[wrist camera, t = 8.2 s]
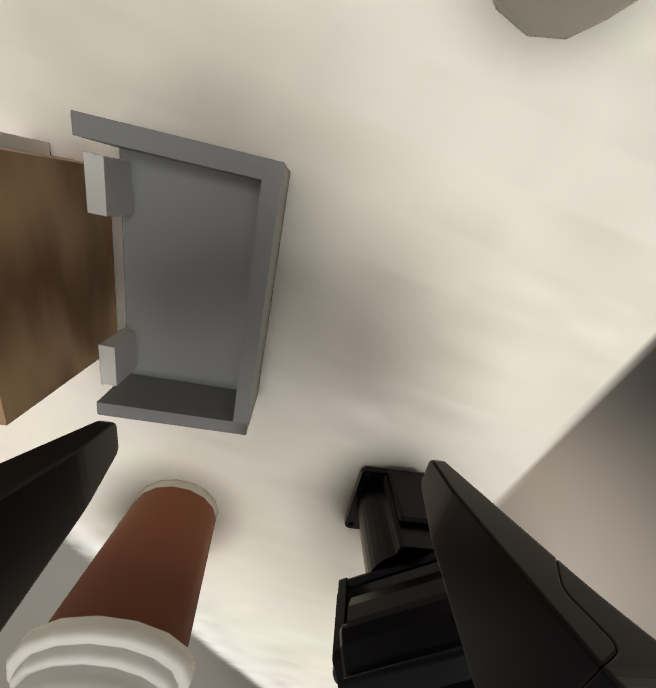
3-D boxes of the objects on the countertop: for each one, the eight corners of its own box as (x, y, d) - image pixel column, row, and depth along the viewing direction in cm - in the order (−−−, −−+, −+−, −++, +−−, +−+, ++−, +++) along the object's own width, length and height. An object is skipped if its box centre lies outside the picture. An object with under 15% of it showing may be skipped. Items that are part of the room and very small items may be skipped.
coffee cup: (236, 471, 25) (175, 687, 14) (232, 548, 28) (180, 767, 17) (112, 461, 24) (-60, 682, 13) (124, 541, 27) (-3, 768, 16)
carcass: (257, 396, 22) (245, 434, 18) (61, 366, 20) (6, 401, 17) (290, 171, 16) (283, 162, 13) (27, 107, 15) (-66, 76, 11)
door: (118, 344, 20) (6, 425, 13) (74, 337, 20) (-67, 416, 12) (109, 168, 16) (-59, 139, 9) (54, 155, 16) (-168, 114, 9)
